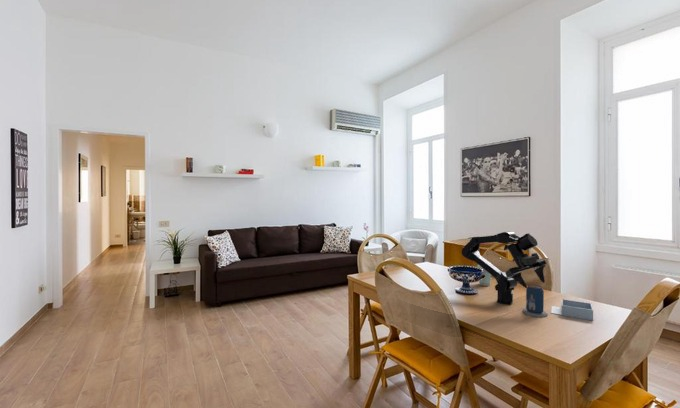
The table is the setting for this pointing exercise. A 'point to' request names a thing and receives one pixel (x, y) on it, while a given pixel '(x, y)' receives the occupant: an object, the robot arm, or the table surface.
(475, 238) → the robot arm
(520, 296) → the table surface
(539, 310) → the soda can
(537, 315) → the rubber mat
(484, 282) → the coffee cup
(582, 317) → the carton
